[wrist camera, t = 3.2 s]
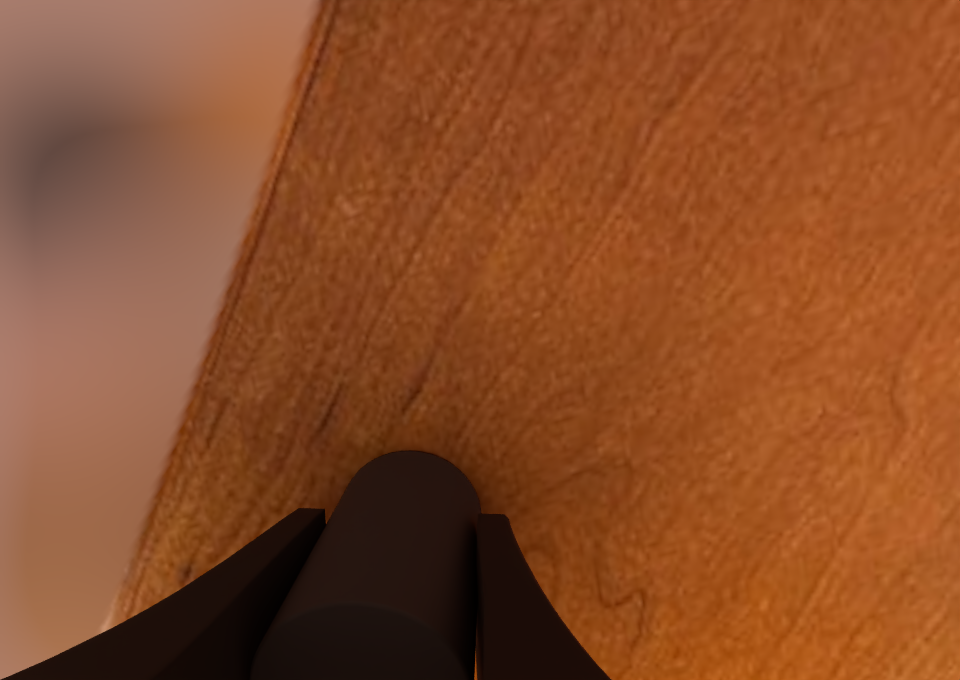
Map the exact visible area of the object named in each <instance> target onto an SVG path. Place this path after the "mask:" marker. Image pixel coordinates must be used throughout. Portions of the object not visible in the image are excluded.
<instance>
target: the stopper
mask: <svg viewBox="0 0 960 680" xmlns="http://www.w3.org/2000/svg"><path fill="white" fill-rule="evenodd" d="M478 514H481V508H480V503H479V499H478V497H477V494H476V492H475V490H474V488H473V486H472V484H471V483H470V482H469V480H468V479H467V478H466V477H465V475H464V474H463V473H462V472H461V471H460V470H458V469H457V468H456V467H455V466H454V465H452V464H451V463H449V462H447V461H446V460H444V459H442V458H439V457H437V456H434V455H431V454H428V453H423V452H416V451H400V452H394V453H390V454H386V455H383V456H381V457H378V458H376V459H374V460H372V461H371V462H369V463H367V464H366V465H365V466H364V467H362V468H361V469H360V470H359V471H358V472H357V473H356V474H355V476H354V477H353V478H352V480H351V481H350V483H349V485H348V486H347V488H346V490H345V492H344V494H343V495H342V497H341V499H340V501H339V503H338V504H337V506H336V508H335V510H334V512H333V513H332V515H331V517H330V519H329V521H328V522H327V524H326V526H325V528H324V530H323V531H322V533H321V535H320V537H319V539H318V540H317V542H316V544H315V546H314V548H313V549H312V551H311V553H310V555H309V557H308V558H307V560H306V562H305V564H304V566H303V567H302V569H301V571H300V573H299V575H298V576H297V578H296V580H295V582H294V584H293V585H292V587H291V589H290V591H289V593H288V594H287V596H286V598H285V600H284V602H283V603H282V605H281V607H280V609H279V611H278V612H277V614H276V616H275V618H274V620H273V621H272V623H271V625H270V627H269V629H268V630H267V632H266V634H265V636H264V637H263V639H262V641H261V643H260V645H259V647H258V649H257V651H256V653H255V655H254V658H253V661H252V665H251V670H250V678H249V680H474V673H475V649H476V625H477V575H476V548H477V521H478Z"/></svg>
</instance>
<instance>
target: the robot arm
mask: <svg viewBox="0 0 960 680" xmlns="http://www.w3.org/2000/svg"><path fill="white" fill-rule="evenodd" d="M325 526H326V520H325V509H311V508H298V509H297V510H295V511H294V512H292V513H291V514H289V515H288V516H286V517H285V518H283V519H282V520H281V521H279V522H278V523H276V524H275V525H274V526H272V527H271V528H270V529H268V530H267V531H265V532H264V533H263V534H261V535H260V536H259V537H257V538H256V539H254V540H253V541H252V542H250V543H249V544H247V545H246V546H244V547H243V548H242V549H240V550H239V551H237V552H236V553H235V554H233V555H232V556H230V557H229V558H228V559H226V560H225V561H223V562H222V563H220V564H219V565H217V566H215V567H214V568H212V569H211V570H209V571H208V572H206V573H205V574H203V575H202V576H200V577H199V578H197V579H196V580H194V581H193V582H191V583H190V584H188V585H186V586H185V587H183V588H182V589H180V590H179V591H177V592H175V593H174V594H172V595H170V596H169V597H167V598H165V599H164V600H162V601H160V602H159V603H157V604H155V605H153V606H152V607H150V608H148V609H146V610H144V611H143V612H141V613H139V614H137V615H135V616H134V617H132V618H130V619H128V620H126V621H125V622H123V623H121V624H119V625H117V626H115V627H113V628H111V629H109V630H107V631H105V632H103V633H101V634H99V635H97V636H95V637H93V638H91V639H89V640H87V641H85V642H83V643H81V644H79V645H76V646H75V647H72V648H70V649H69V650H66V651H64V652H62V653H60V654H58V655H56V656H54V657H52V658H50V659H47V660H45V661H43V662H41V663H38V664H36V665H34V666H31V667H29V668H27V669H25V670H22V671H20V672H18V673H16V674H13V675H11V676H9V677H6V678H4V679H1V680H249V678H250V670H251V665H252V661H253V658H254V655H255V653H256V651H257V649H258V647H259V645H260V643H261V641H262V639H263V637H264V636H265V634H266V632H267V630H268V629H269V627H270V625H271V623H272V621H273V620H274V618H275V616H276V614H277V612H278V611H279V609H280V607H281V605H282V603H283V602H284V600H285V598H286V596H287V594H288V593H289V591H290V589H291V587H292V585H293V584H294V582H295V580H296V578H297V576H298V575H299V573H300V571H301V569H302V567H303V566H304V564H305V562H306V560H307V558H308V557H309V555H310V553H311V551H312V549H313V548H314V546H315V544H316V542H317V540H318V539H319V537H320V535H321V533H322V531H323V530H324V528H325ZM476 575H477V625H476V662H477V680H611V679H610V678H609V677H608V676H607V675H606V674H605V672H604V671H603V670H602V669H601V668H600V667H599V666H598V665H597V664H596V663H595V661H594V660H593V659H592V658H591V657H590V655H589V654H588V653H587V652H586V651H585V649H584V648H583V647H582V646H581V645H580V643H579V642H578V641H577V639H576V638H575V637H574V636H573V634H572V633H571V632H570V630H569V629H568V628H567V626H566V625H565V624H564V622H563V621H562V619H561V618H560V617H559V615H558V614H557V612H556V611H555V609H554V608H553V606H552V605H551V603H550V602H549V600H548V598H547V597H546V595H545V594H544V592H543V591H542V589H541V587H540V586H539V584H538V582H537V580H536V579H535V577H534V575H533V573H532V571H531V569H530V568H529V566H528V564H527V562H526V560H525V558H524V556H523V554H522V552H521V550H520V548H519V546H518V543H517V541H516V539H515V536H514V534H513V531H512V528H511V525H510V522H509V519H508V518H507V517H506V515H505V514H478V521H477V548H476Z"/></svg>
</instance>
